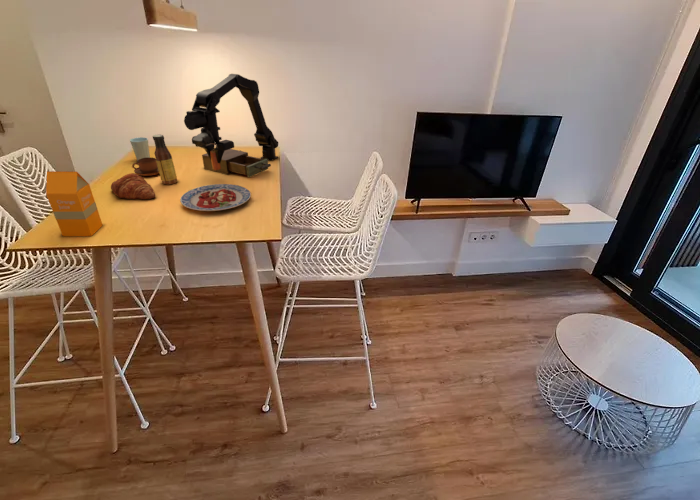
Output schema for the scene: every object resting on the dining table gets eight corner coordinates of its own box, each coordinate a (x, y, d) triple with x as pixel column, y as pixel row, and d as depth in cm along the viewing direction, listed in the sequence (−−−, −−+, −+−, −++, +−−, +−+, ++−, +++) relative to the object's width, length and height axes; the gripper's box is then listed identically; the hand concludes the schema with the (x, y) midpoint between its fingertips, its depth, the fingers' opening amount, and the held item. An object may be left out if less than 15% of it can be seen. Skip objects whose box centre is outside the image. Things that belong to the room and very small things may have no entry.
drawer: (276, 170, 177) (275, 160, 175) (257, 179, 167) (256, 168, 165) (246, 163, 184) (245, 154, 182) (226, 171, 174) (224, 161, 172)
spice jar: (211, 168, 165) (208, 150, 161) (216, 166, 168) (214, 148, 164) (216, 170, 164) (214, 152, 160) (222, 168, 166) (220, 150, 162)
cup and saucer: (139, 180, 164) (136, 166, 161) (131, 172, 172) (128, 158, 168) (168, 174, 171) (165, 161, 168) (159, 167, 179) (156, 154, 175)
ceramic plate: (179, 193, 153) (178, 186, 152) (244, 185, 162) (244, 179, 161) (183, 220, 133) (181, 212, 132) (257, 210, 142) (256, 202, 141)
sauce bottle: (180, 180, 165) (171, 133, 155) (173, 185, 160) (163, 137, 150) (165, 179, 166) (155, 133, 156) (158, 184, 160) (147, 136, 150)
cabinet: (249, 165, 185) (247, 152, 181) (227, 174, 174) (225, 160, 170) (226, 160, 190) (224, 147, 187) (204, 168, 179) (201, 154, 176)
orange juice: (91, 236, 121) (70, 176, 111) (62, 236, 121) (38, 175, 110) (103, 224, 128) (84, 167, 118) (75, 225, 127) (53, 167, 117)
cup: (155, 158, 189) (150, 137, 184) (149, 163, 182) (143, 141, 177) (139, 158, 189) (134, 137, 183) (132, 163, 182) (126, 141, 177)
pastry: (159, 185, 160) (154, 166, 155) (155, 199, 147) (150, 179, 143) (113, 188, 155) (108, 169, 151) (106, 203, 142) (99, 183, 138)
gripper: (178, 125, 154) (185, 163, 162) (212, 132, 147) (218, 171, 155) (199, 120, 162) (205, 156, 170) (232, 126, 155) (237, 164, 163)
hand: (215, 162), depth 164 cm, fingers closed on spice jar, 3 cm apart
